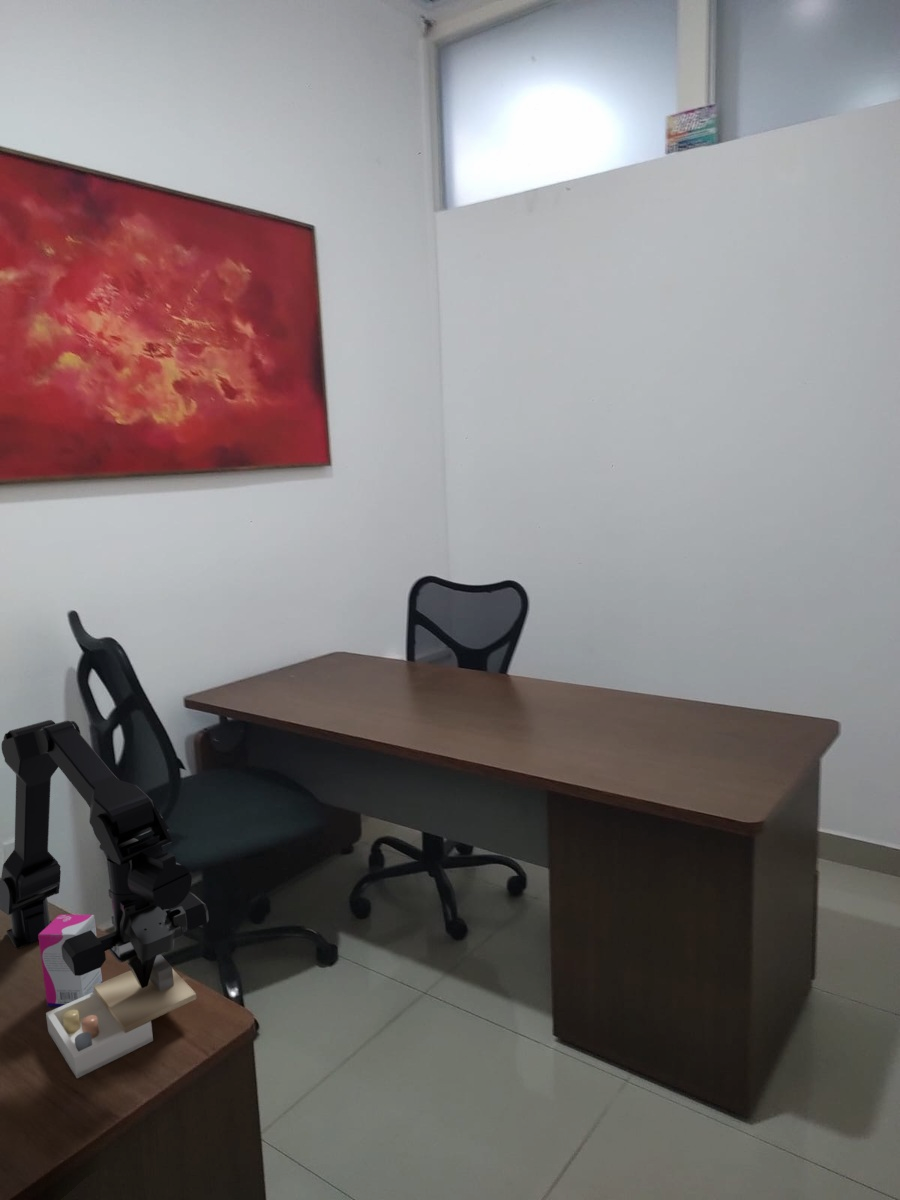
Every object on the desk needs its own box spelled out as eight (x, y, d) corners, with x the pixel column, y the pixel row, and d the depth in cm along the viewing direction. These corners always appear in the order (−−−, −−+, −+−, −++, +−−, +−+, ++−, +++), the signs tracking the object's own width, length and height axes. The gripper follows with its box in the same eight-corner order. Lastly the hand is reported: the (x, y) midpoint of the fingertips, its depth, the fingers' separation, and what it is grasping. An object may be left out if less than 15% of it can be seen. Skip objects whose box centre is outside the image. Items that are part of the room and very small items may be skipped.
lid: (94, 991, 120) (91, 967, 119) (162, 961, 126) (159, 938, 126) (125, 1032, 111) (122, 1007, 110) (196, 998, 117) (194, 974, 117)
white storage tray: (48, 1032, 116) (45, 1012, 116) (120, 999, 123) (118, 981, 122) (76, 1078, 107) (74, 1057, 107) (153, 1040, 114) (150, 1021, 113)
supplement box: (104, 982, 127) (95, 913, 125) (83, 1008, 121) (74, 936, 119) (67, 981, 127) (59, 912, 125) (45, 1007, 121) (35, 935, 119)
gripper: (81, 935, 103) (95, 1047, 106) (221, 881, 115) (230, 983, 118) (54, 901, 112) (67, 1005, 115) (187, 854, 124) (196, 949, 127)
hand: (143, 986), depth 118 cm, fingers closed
